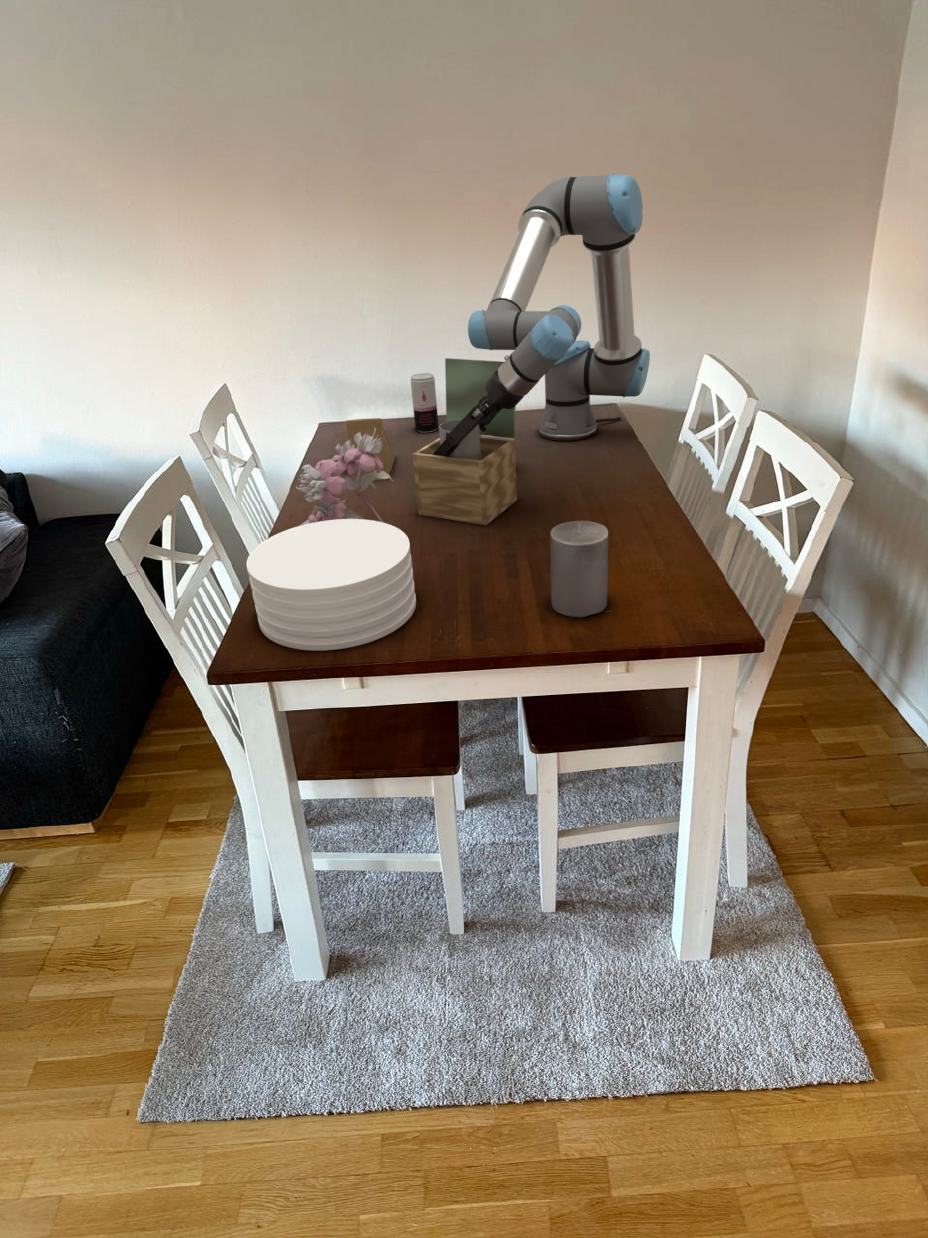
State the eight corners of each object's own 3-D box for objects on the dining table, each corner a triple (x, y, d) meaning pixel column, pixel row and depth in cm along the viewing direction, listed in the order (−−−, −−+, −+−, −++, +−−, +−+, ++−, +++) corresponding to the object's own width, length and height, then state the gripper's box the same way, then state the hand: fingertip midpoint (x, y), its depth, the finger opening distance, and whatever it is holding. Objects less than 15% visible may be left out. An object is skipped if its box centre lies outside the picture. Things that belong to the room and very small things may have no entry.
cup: (487, 464, 189) (484, 419, 184) (475, 478, 182) (471, 431, 177) (450, 462, 191) (446, 418, 186) (437, 476, 185) (433, 430, 180)
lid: (514, 362, 180) (516, 362, 181) (445, 358, 188) (446, 357, 188) (513, 438, 186) (515, 437, 187) (446, 431, 194) (448, 430, 195)
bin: (486, 525, 183) (482, 462, 176) (418, 514, 191) (412, 453, 184) (517, 500, 194) (514, 439, 187) (452, 491, 201) (447, 432, 195)
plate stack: (417, 641, 143) (411, 580, 137) (248, 658, 142) (234, 596, 137) (414, 567, 167) (408, 512, 162) (269, 581, 167) (258, 526, 161)
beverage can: (441, 426, 246) (436, 372, 239) (435, 433, 240) (430, 378, 233) (419, 425, 247) (414, 372, 240) (412, 433, 242) (407, 379, 235)
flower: (370, 501, 195) (309, 413, 179) (437, 514, 180) (376, 420, 164) (313, 565, 188) (244, 480, 173) (377, 585, 173) (308, 494, 157)
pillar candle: (560, 588, 156) (559, 510, 149) (613, 595, 153) (615, 515, 145) (543, 613, 148) (541, 533, 141) (599, 621, 145) (600, 539, 137)
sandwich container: (396, 457, 225) (389, 399, 218) (388, 478, 212) (381, 418, 204) (363, 458, 226) (356, 401, 218) (353, 479, 212) (345, 419, 205)
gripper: (522, 355, 179) (460, 424, 194) (472, 382, 163) (409, 455, 178) (546, 382, 179) (482, 449, 194) (499, 412, 163) (434, 482, 179)
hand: (447, 452), depth 186 cm, fingers closed on cup, 8 cm apart
